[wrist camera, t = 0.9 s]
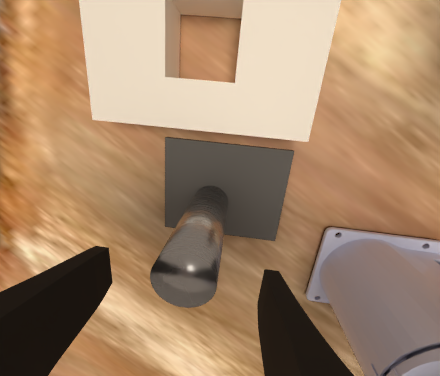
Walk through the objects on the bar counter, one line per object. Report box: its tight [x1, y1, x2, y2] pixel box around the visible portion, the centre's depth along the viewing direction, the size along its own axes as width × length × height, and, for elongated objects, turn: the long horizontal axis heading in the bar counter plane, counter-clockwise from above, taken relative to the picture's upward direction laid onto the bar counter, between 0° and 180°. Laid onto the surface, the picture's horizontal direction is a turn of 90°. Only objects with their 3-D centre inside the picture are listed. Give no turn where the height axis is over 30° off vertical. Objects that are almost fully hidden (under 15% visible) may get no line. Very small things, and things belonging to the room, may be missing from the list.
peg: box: [150, 185, 228, 308], centre depth 13 cm, size 3×3×9 cm
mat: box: [165, 137, 294, 241], centre depth 17 cm, size 10×8×1 cm
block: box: [79, 0, 341, 142], centre depth 13 cm, size 14×10×3 cm
